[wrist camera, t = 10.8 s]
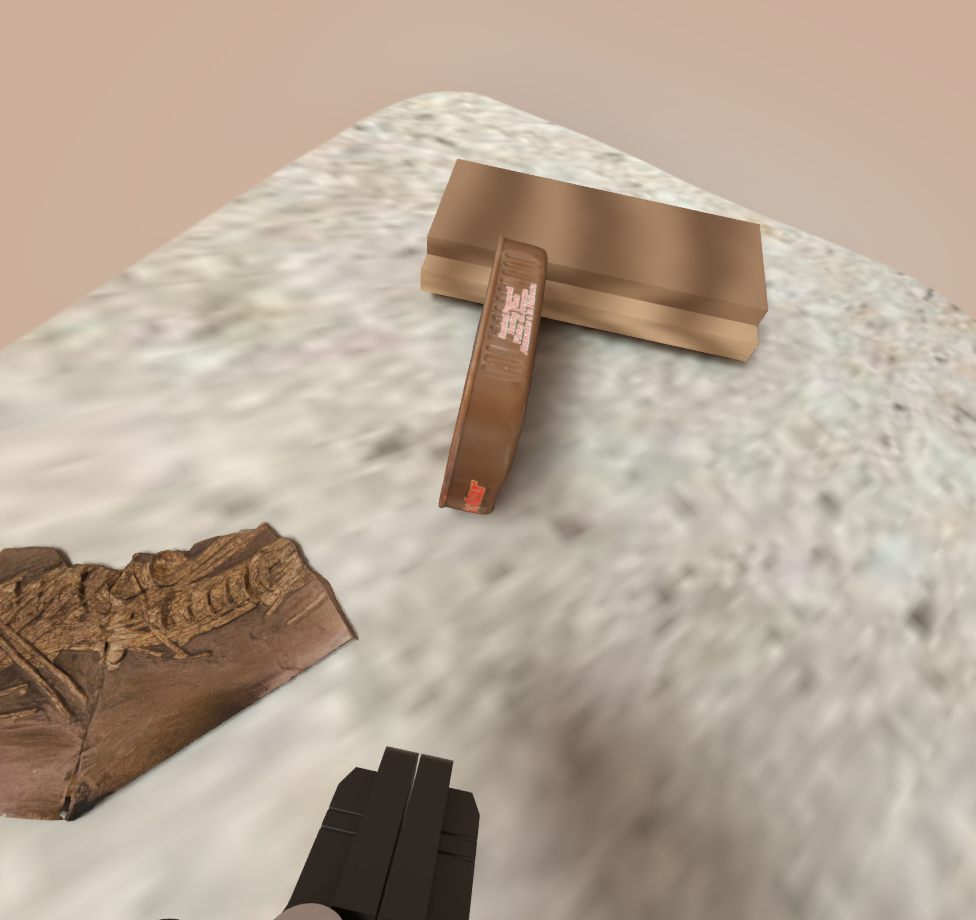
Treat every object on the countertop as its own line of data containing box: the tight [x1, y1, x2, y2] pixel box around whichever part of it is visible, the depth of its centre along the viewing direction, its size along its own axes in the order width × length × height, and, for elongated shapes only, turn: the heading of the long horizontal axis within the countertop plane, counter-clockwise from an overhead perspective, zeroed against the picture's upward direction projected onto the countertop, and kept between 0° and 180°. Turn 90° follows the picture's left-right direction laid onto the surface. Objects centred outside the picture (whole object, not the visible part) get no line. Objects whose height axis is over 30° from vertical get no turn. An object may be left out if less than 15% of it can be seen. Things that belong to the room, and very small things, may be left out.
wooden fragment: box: [0, 522, 358, 821], centre depth 23 cm, size 26×11×1 cm, turn 100°
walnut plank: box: [421, 159, 768, 361], centre depth 36 cm, size 20×10×4 cm, turn 79°
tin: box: [439, 235, 548, 514], centre depth 28 cm, size 15×3×8 cm, turn 171°
